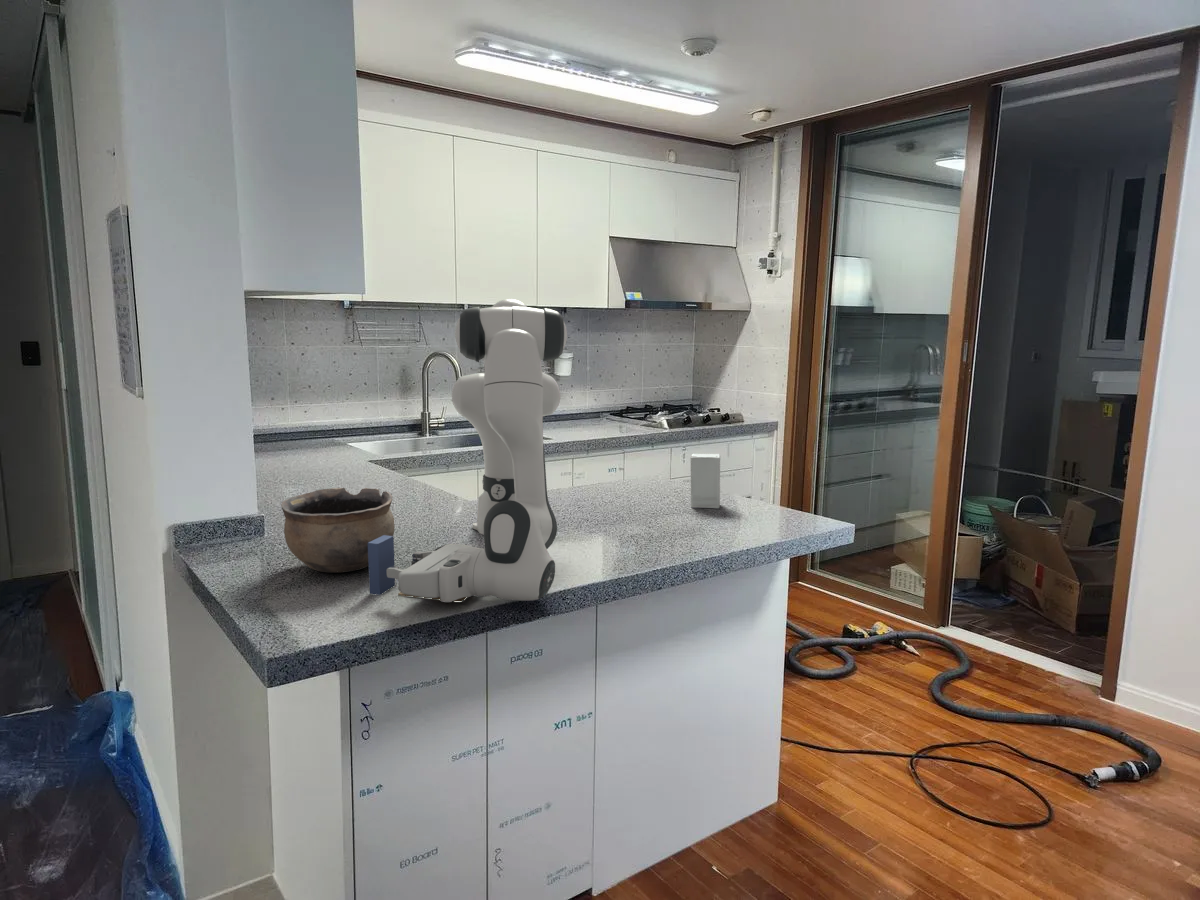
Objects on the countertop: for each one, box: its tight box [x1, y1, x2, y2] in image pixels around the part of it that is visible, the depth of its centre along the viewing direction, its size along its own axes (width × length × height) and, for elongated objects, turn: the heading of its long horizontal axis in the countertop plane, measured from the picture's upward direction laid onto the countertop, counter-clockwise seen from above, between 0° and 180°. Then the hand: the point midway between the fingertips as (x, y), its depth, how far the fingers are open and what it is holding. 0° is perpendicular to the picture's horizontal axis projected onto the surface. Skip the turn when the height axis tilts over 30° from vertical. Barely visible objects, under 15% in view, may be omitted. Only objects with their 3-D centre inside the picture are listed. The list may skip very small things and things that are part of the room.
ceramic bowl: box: [280, 487, 396, 573], centre depth 159 cm, size 22×22×15 cm
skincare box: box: [690, 453, 721, 509], centre depth 216 cm, size 8×6×15 cm
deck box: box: [368, 535, 396, 596], centre depth 147 cm, size 6×2×10 cm, turn 164°
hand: (401, 563), depth 146 cm, fingers open, 8 cm apart
